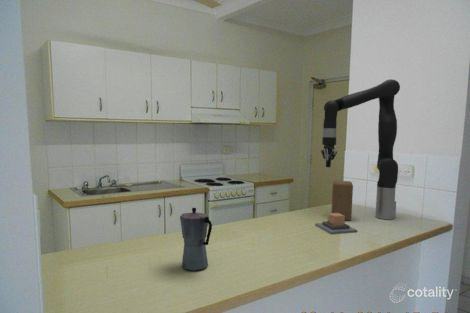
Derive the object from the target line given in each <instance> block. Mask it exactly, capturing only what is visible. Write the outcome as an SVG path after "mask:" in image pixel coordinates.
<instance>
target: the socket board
mask: <svg viewBox="0 0 470 313" xmlns="http://www.w3.org/2000/svg"><path fill="white" fill-rule="evenodd" d="M314 225H315V226H316V227H317V228H320V229H322V230H323V231H324V232H326V233H328V234H330V235H338V234H350V233H351V234H352V233H358V229H355V228H354V227H352V226H350V225H349V224H347V223H344V225H343V226H332V225H330V224H328V220H326V221H325V220H324V221H322V222H317V223H315V224H314Z"/></svg>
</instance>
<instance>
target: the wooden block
mask: <svg viewBox="0 0 470 313" xmlns="http://www.w3.org/2000/svg"><path fill="white" fill-rule="evenodd" d="M353 189H354V185H353V182H352V181H350V180H349V181H348V180H333V181H332V194H331V197H332V199H331V213H340V214H342V215H344V216H345V222H347V221H348V222H350V221H352V217H353V216H352V213H353V212H352V211H353V197H354V196H353V194H354V193H353V191H354V190H353Z"/></svg>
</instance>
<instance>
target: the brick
mask: <svg viewBox="0 0 470 313" xmlns="http://www.w3.org/2000/svg"><path fill="white" fill-rule="evenodd" d="M327 221H328V224H330V225H332V226H343V225H344V223H345V222H346V221H345V216H344V215H342V214H340V213H332V212H331V213H328V215H327ZM345 224H346V223H345Z"/></svg>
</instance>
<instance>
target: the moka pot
mask: <svg viewBox="0 0 470 313" xmlns="http://www.w3.org/2000/svg"><path fill="white" fill-rule="evenodd" d="M191 211H192V212H184V213H182V214H181V215H180V216H179V219H180V228H181V235H182V238H183V252H182V261H181V262H182V263H181V267H182V269H184V270H187V271H200V270H204V269H206V268H207V267H208V266H209V263H208V255H207V254H208V253H207V247H206V246H208V245H209V243H210V242H209V241H210V238H211V233H212V228H213V224H212V221H211V220H210V219H209V215H207V214H206V213H202V212H197V208H196V207H192V208H191Z"/></svg>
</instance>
